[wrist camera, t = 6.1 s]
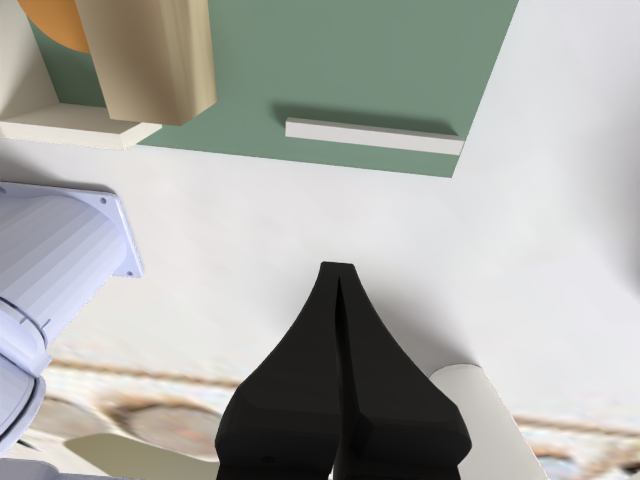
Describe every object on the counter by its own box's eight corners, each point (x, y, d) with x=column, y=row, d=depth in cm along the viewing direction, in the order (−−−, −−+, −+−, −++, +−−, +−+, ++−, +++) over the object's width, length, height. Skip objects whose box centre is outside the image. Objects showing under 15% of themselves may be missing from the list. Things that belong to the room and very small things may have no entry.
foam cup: (424, 405, 38) (459, 553, 27) (405, 366, 33) (438, 527, 22) (505, 391, 35) (579, 549, 25) (497, 347, 30) (584, 519, 20)
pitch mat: (61, 131, 19) (38, 140, 18) (-96, -260, 11) (-162, -303, 9) (447, 172, 20) (456, 184, 18) (572, -168, 12) (607, -196, 10)
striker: (163, 95, 17) (110, 118, 13) (123, -118, 12) (18, -187, 8) (217, 101, 17) (180, 126, 13) (197, -108, 12) (129, -172, 8)
